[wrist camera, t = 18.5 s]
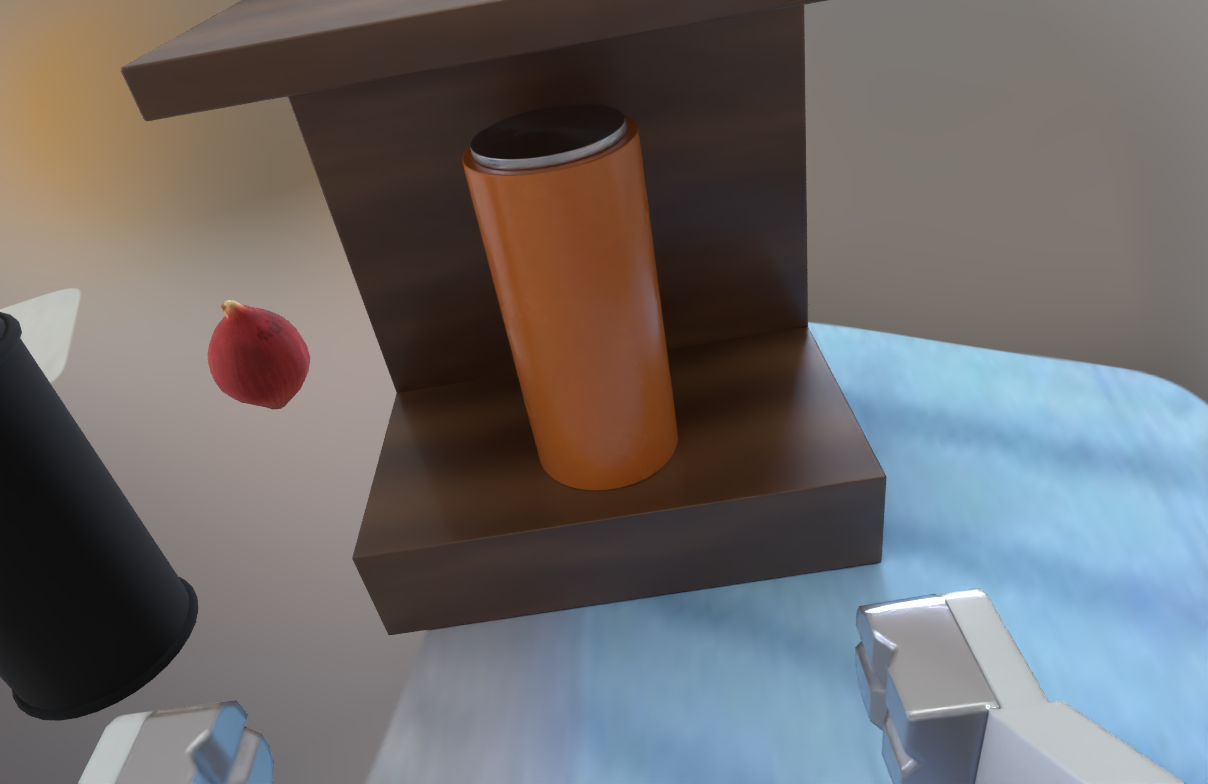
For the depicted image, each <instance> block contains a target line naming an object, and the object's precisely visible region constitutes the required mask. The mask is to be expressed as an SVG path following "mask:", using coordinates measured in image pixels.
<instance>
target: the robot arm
mask: <svg viewBox="0 0 1208 784" xmlns="http://www.w3.org/2000/svg"><path fill="white" fill-rule="evenodd" d="M856 626H857V629H858V631H859V634H860V637H861V639H862V641H861V642H860V643H859V644H858V645H857V646H856V647H855V658H856V670H857V677H858V683H859V688H860V691H861V695H862V698H863V702H864V705H865V708H866V711H867V714H868V716H869V719H870V721H871V722H872V723H873V724H875V725H876V726H877V727H878V728H880V729H881V730H882V731H883V743H882V756H883V758H884V761H885V764H886V766H887V769H888V772H889V775H890V777H891V780H892V783H893V784H1186V783H1184V782H1183V781H1181V780H1180V779H1178V778H1177V777H1175V776H1174V775H1172V774H1171V773H1169V772H1168V771H1166V770H1165V769H1163V768H1162V767H1160V766H1159V765H1157V764H1156V763H1154V762H1153V761H1151V760H1150V759H1148V758H1147V757H1146V756H1144V755H1143V754H1141V753H1140V752H1138V751H1137V750H1135V749H1134V748H1132V747H1131V746H1129V745H1128V744H1126V743H1125V742H1123V741H1122V740H1120V739H1119V738H1117V737H1116V736H1114V735H1113V734H1111V733H1110V732H1108V731H1107V730H1105V729H1104V728H1102V727H1101V726H1099V725H1098V724H1096V723H1095V722H1093V721H1092V720H1090V719H1089V718H1087V717H1086V716H1084V715H1083V714H1081V713H1080V712H1078V711H1077V710H1075V709H1074V708H1072V707H1071V706H1070V705H1068V704H1067V703H1065V702H1064V701H1052V702H1049V700H1048V699H1047V697H1046V695H1045V694H1044V692H1043V690H1042V688H1041V687H1040V685H1039V683H1038V682H1037V680H1036V678H1035V676H1034V675H1033V673H1032V671H1031V669H1030V668H1029V666H1028V664H1027V663H1026V661H1025V659H1024V657H1023V656H1022V654H1021V652H1020V650H1019V649H1018V647H1017V645H1016V644H1015V642H1014V640H1013V638H1012V637H1011V635H1010V633H1009V631H1008V630H1007V628H1006V626H1005V625H1004V623H1003V621H1002V619H1001V618H1000V616H999V614H998V613H997V611H996V609H995V607H994V606H993V604H992V602H991V600H990V599H989V597H988V595H987V594H986V593H984V592H983V591H982V590H981V589H970V590H963V591H957V592H951V593H945V594H939V595H936V594H931V595H925V596H919V597H913V598H907V599H900V600H894V601H888V602H882V603H876V604H870V605H864V606H859V608H858V610H857V616H856ZM247 716H248V714H247V713H246V712H245V710H244V709H243V708H242V707H241V705H240V704H239V703H238V702H237V701H228V702H220V703H212V704H204V705H196V706H189V707H180V708H172V709H164V710H155V711H148V712H141V713H134V714H127V715H120V716H117V717H116V718H115V719H114V720H113V721H112V722H111V723H110V724H109V725H108V726H107V727H106V728H105V730H104V732H103V734H102V736H101V739H100V740H99V742H98V744H97V746H96V748H95V751H94V752H93V754H92V756H91V758H90V760H89V762H88V764H87V766H86V768H85V770H84V772H83V774H82V776H81V778H80V780H79V782H78V784H273V757H272V754H271V751H270V747H269V745H268V743H267V741H266V740H265V738H264V737H263V735H262V734H260V733H258V732H256V731H253V730H251V729H249V728H247V727H245V726H244V725H245V722H246V719H247Z"/></svg>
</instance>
